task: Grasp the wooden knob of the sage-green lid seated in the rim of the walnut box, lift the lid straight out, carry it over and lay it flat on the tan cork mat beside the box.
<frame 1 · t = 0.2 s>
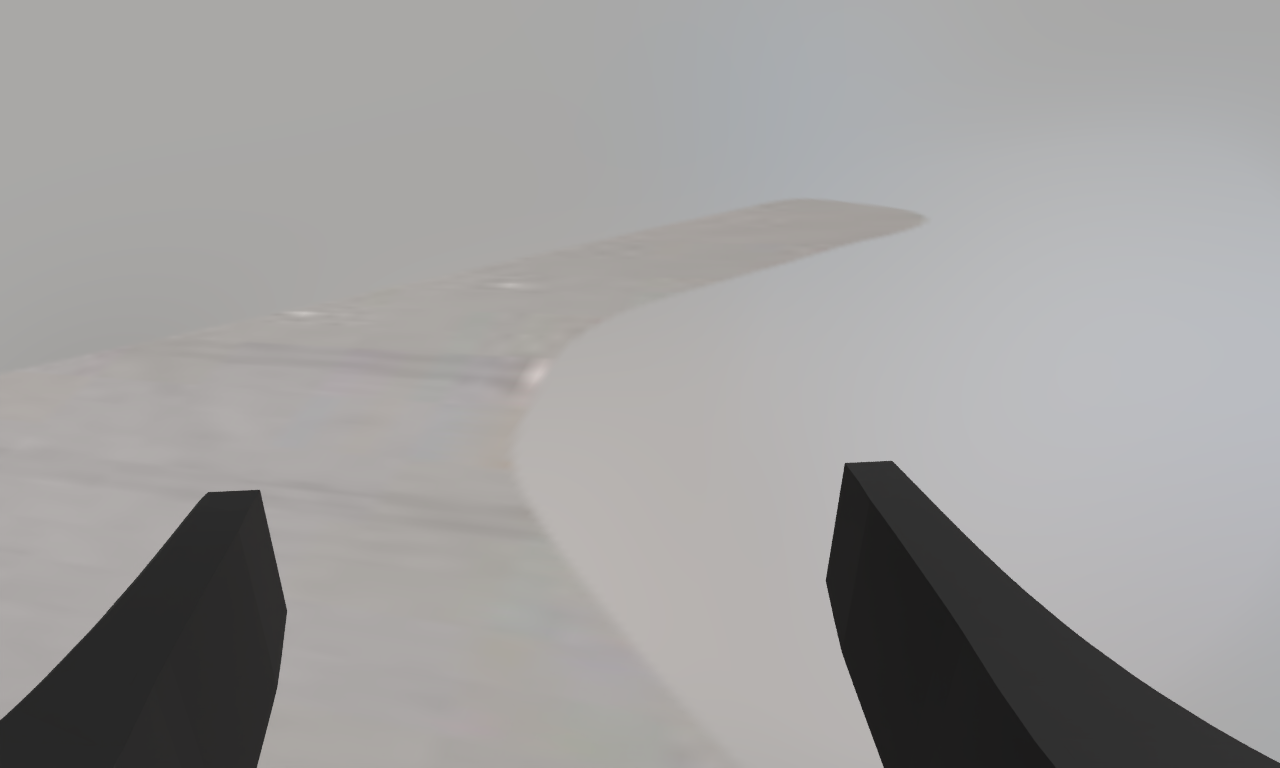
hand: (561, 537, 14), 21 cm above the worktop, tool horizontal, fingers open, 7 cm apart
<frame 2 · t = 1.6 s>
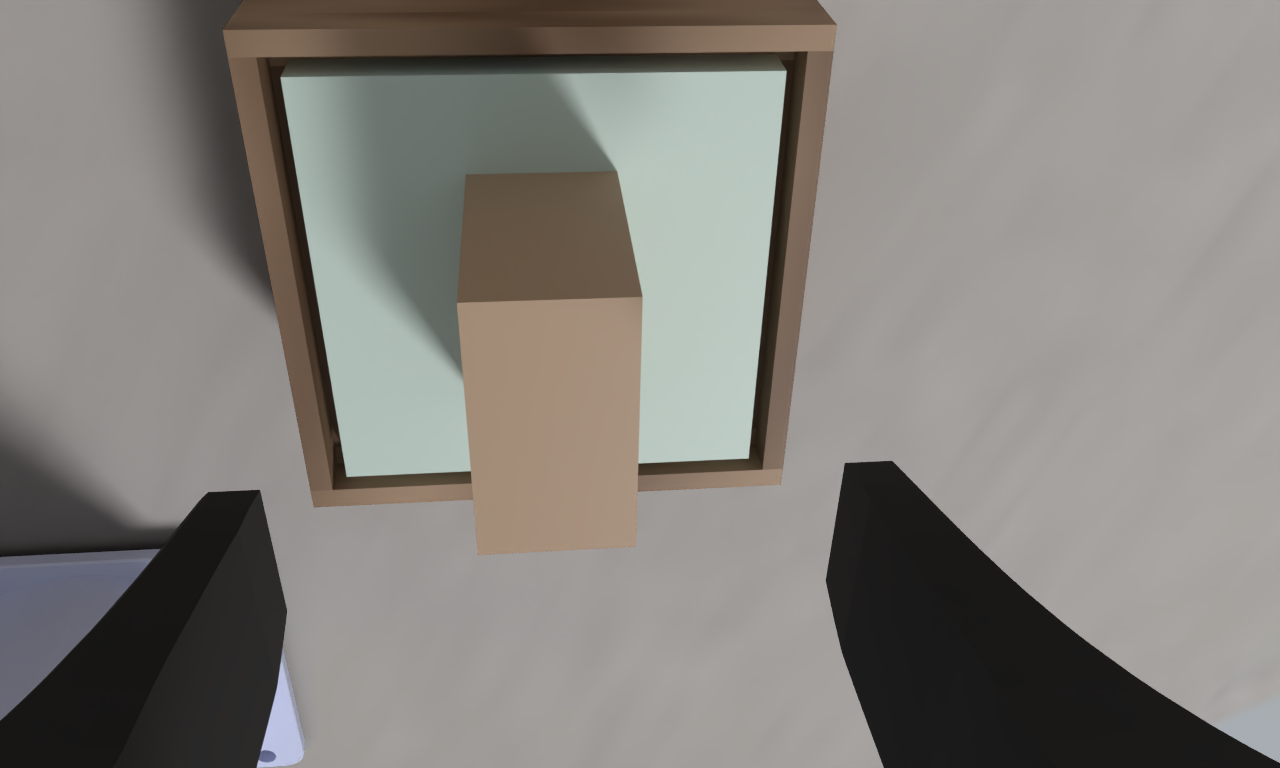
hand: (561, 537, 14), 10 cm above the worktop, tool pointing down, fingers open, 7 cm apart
box: (539, 186, 22), on the worktop
lid: (544, 270, 20), point 3 cm above the worktop, touching box
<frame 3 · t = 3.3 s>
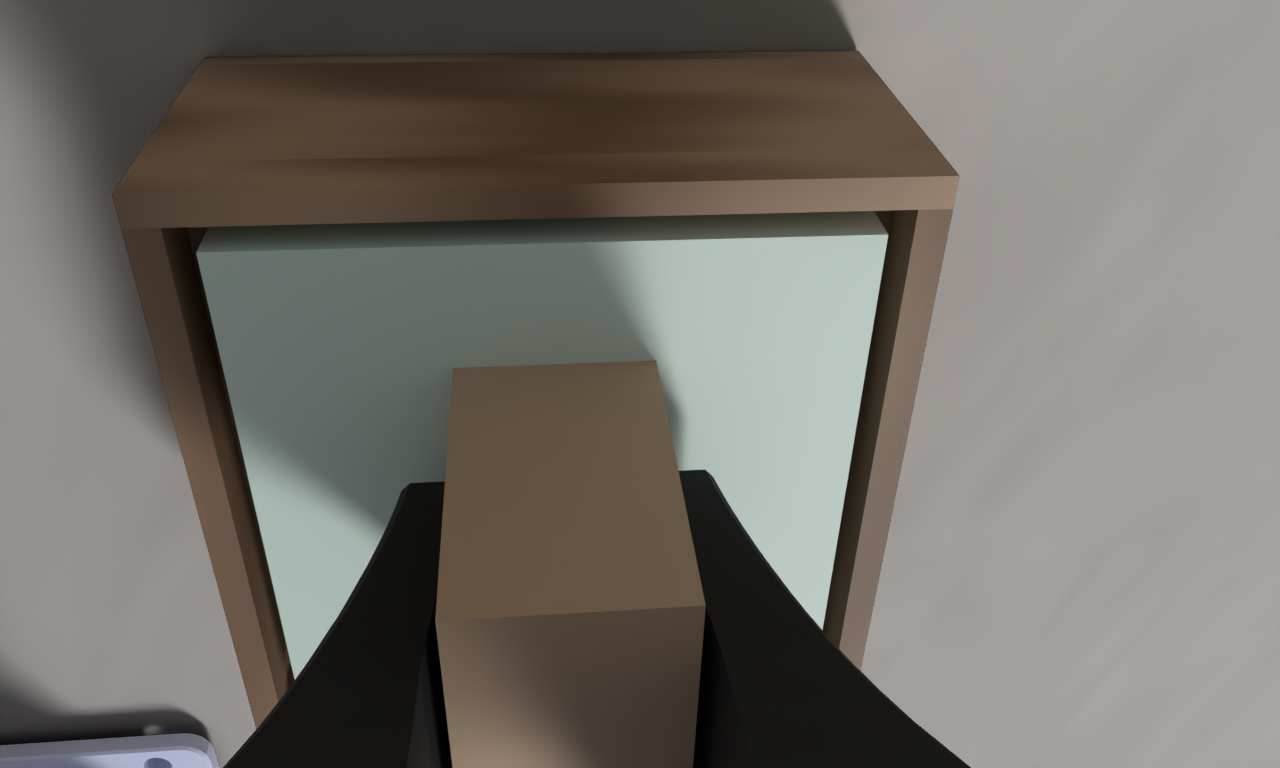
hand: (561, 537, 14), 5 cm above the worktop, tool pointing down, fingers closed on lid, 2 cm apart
box: (548, 330, 18), on the worktop
lid: (556, 466, 15), point 3 cm above the worktop, touching box, gripper
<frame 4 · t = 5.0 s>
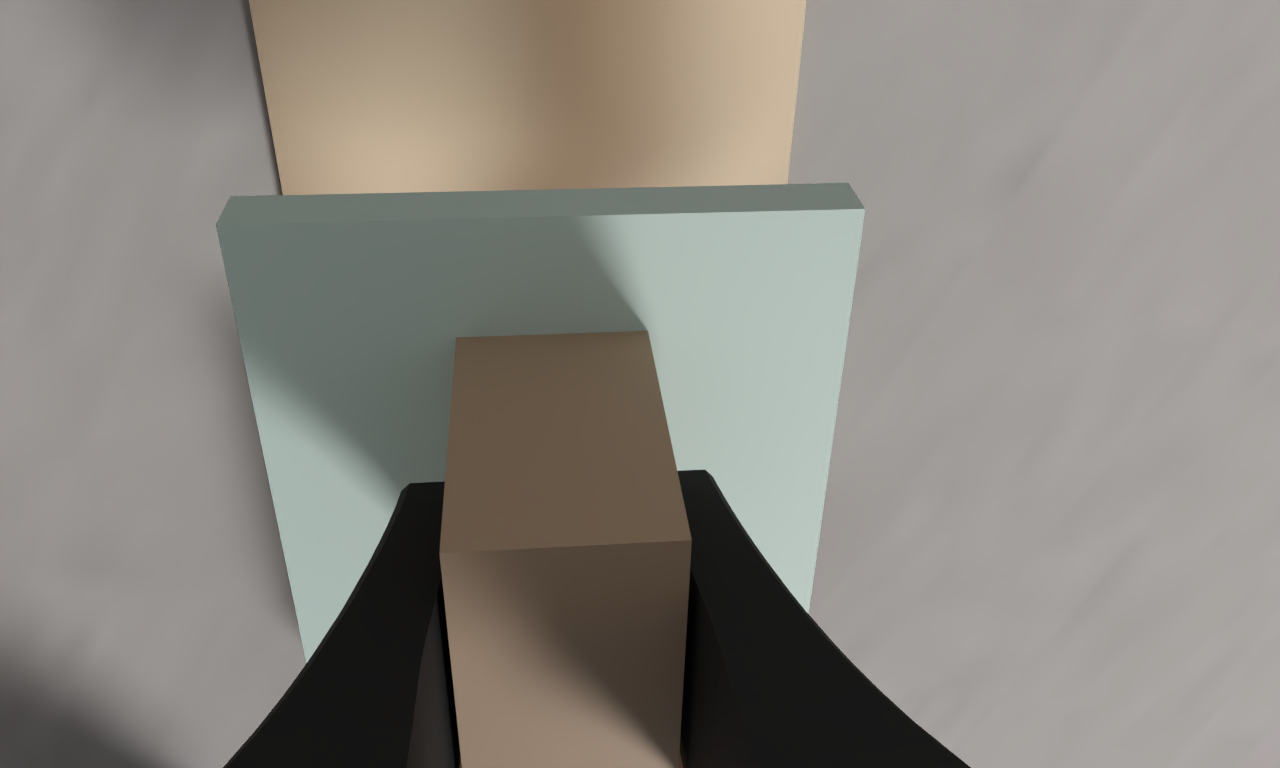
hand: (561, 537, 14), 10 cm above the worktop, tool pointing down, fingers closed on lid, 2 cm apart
lid: (554, 439, 16), point 8 cm above the worktop, touching gripper
mat: (540, 187, 22), on the worktop
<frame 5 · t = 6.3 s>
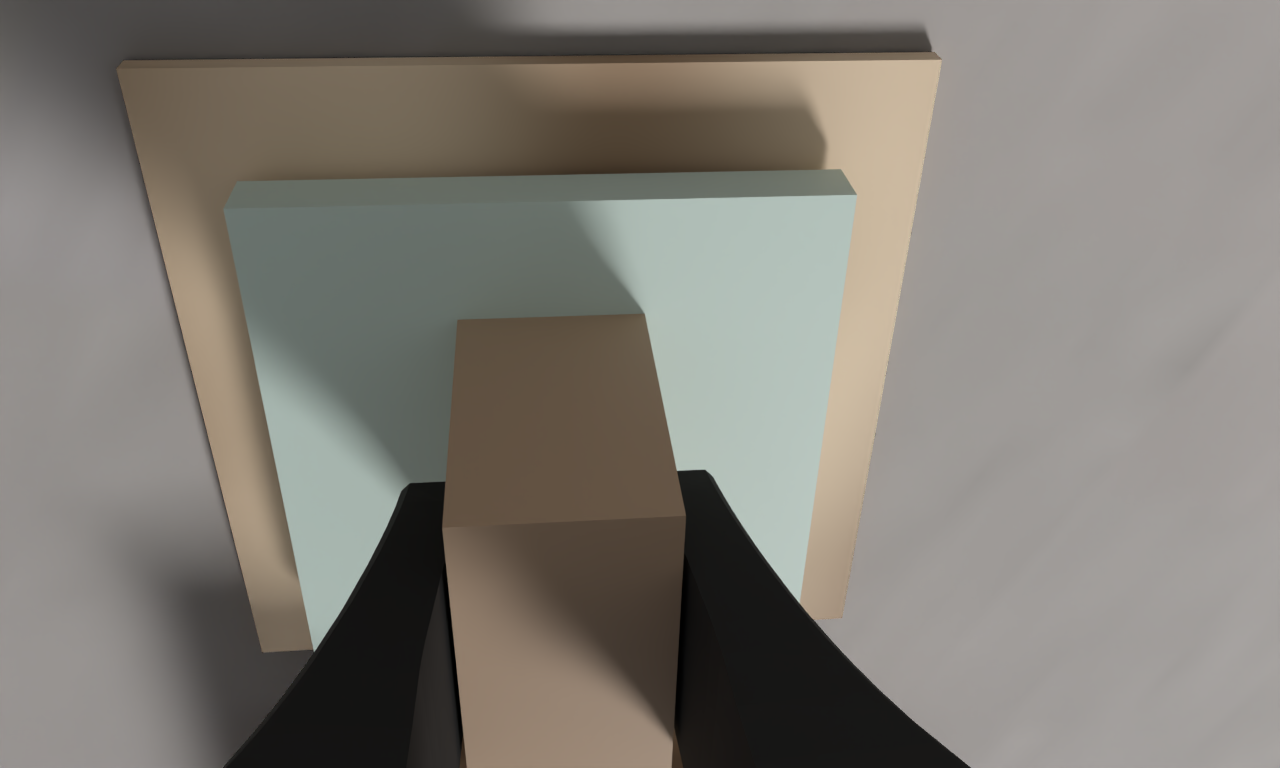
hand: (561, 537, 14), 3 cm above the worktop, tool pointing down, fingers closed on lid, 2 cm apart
lid: (553, 419, 16), point 1 cm above the worktop, touching gripper
mat: (552, 387, 17), on the worktop
when the fingers open (3 cm above the worktop, at t = 7.0 s): lid stays where it is, resting on mat.
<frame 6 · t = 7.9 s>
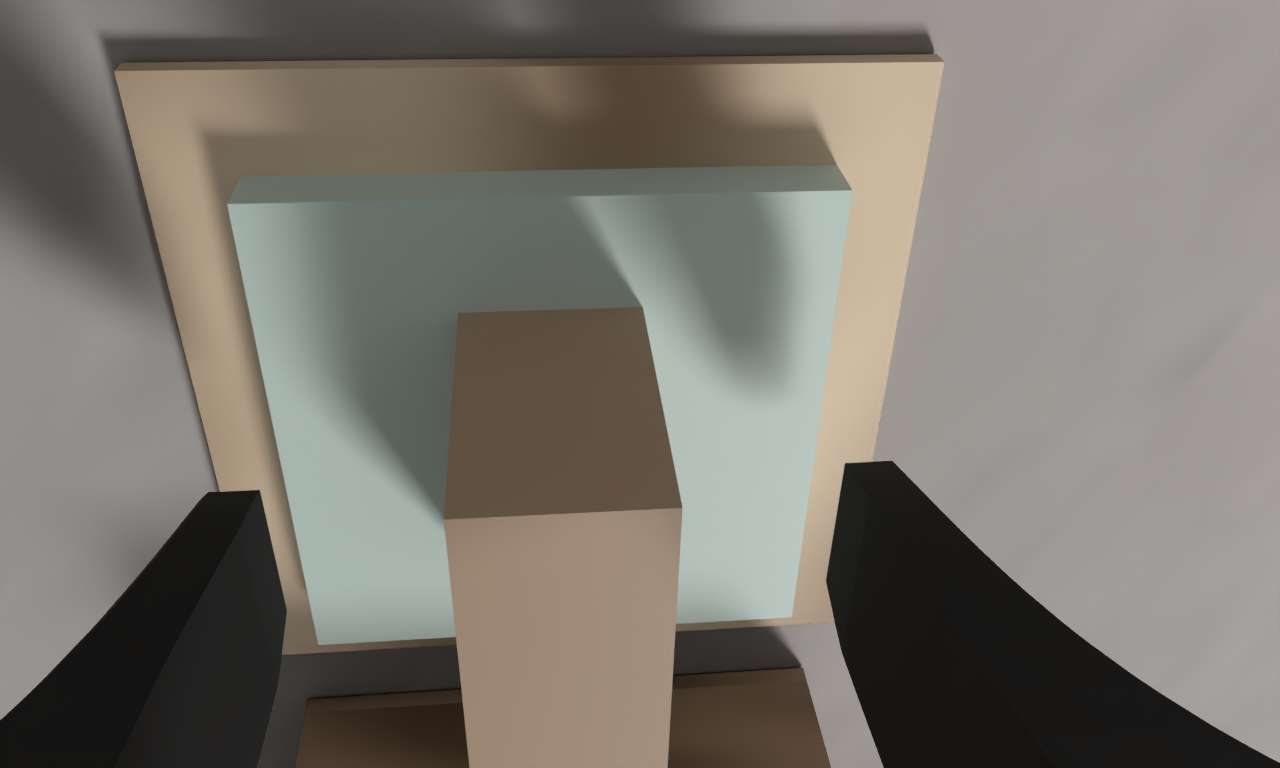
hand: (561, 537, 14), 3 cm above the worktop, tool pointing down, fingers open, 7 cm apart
lid: (552, 410, 16), resting on mat
mat: (552, 390, 16), on the worktop
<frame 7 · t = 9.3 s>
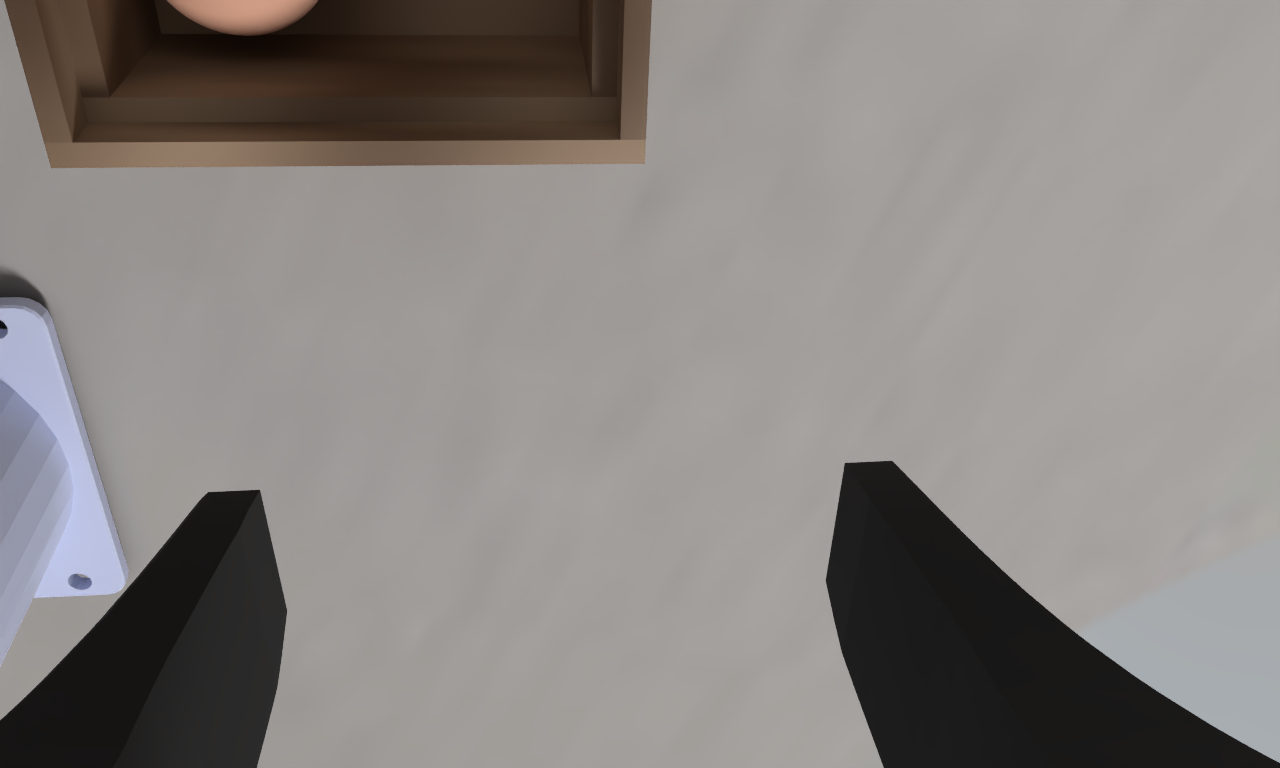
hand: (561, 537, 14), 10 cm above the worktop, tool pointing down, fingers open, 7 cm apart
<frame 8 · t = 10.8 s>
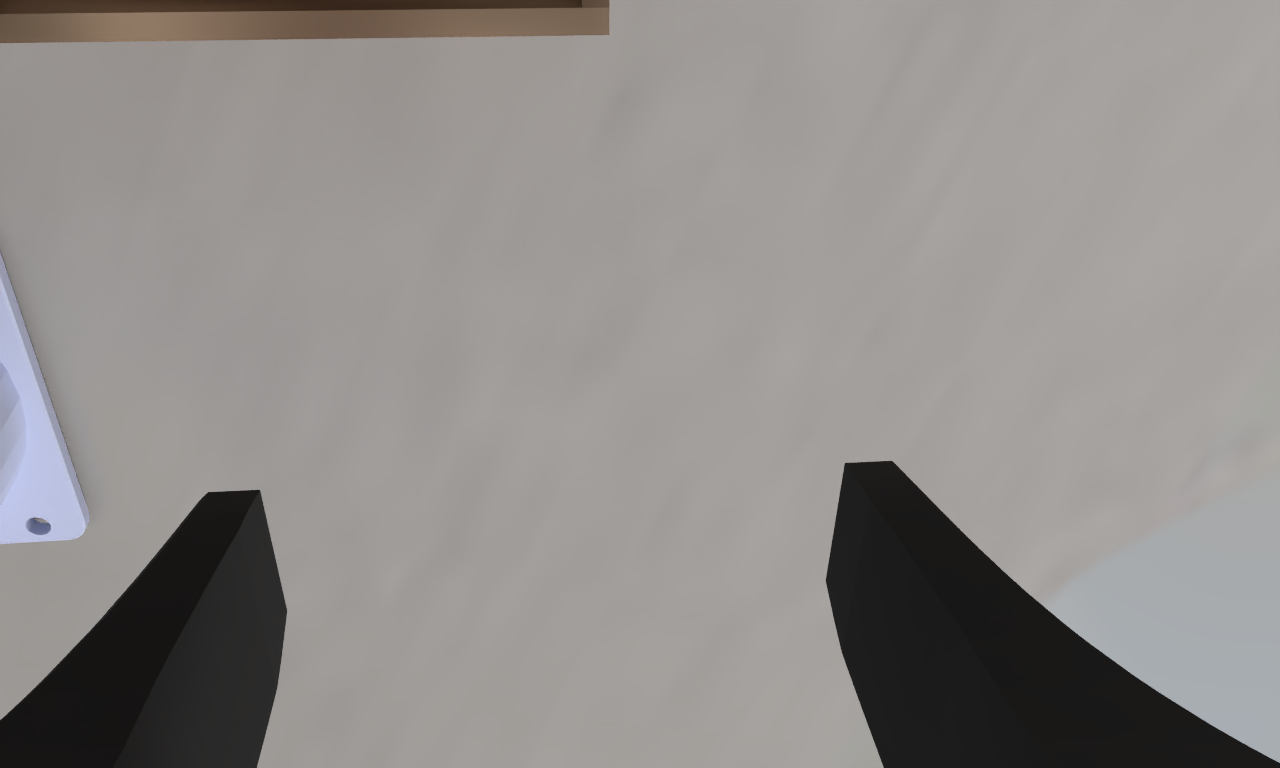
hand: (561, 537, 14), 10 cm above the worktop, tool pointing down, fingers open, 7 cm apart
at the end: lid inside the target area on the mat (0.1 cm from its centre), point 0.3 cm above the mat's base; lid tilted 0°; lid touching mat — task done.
